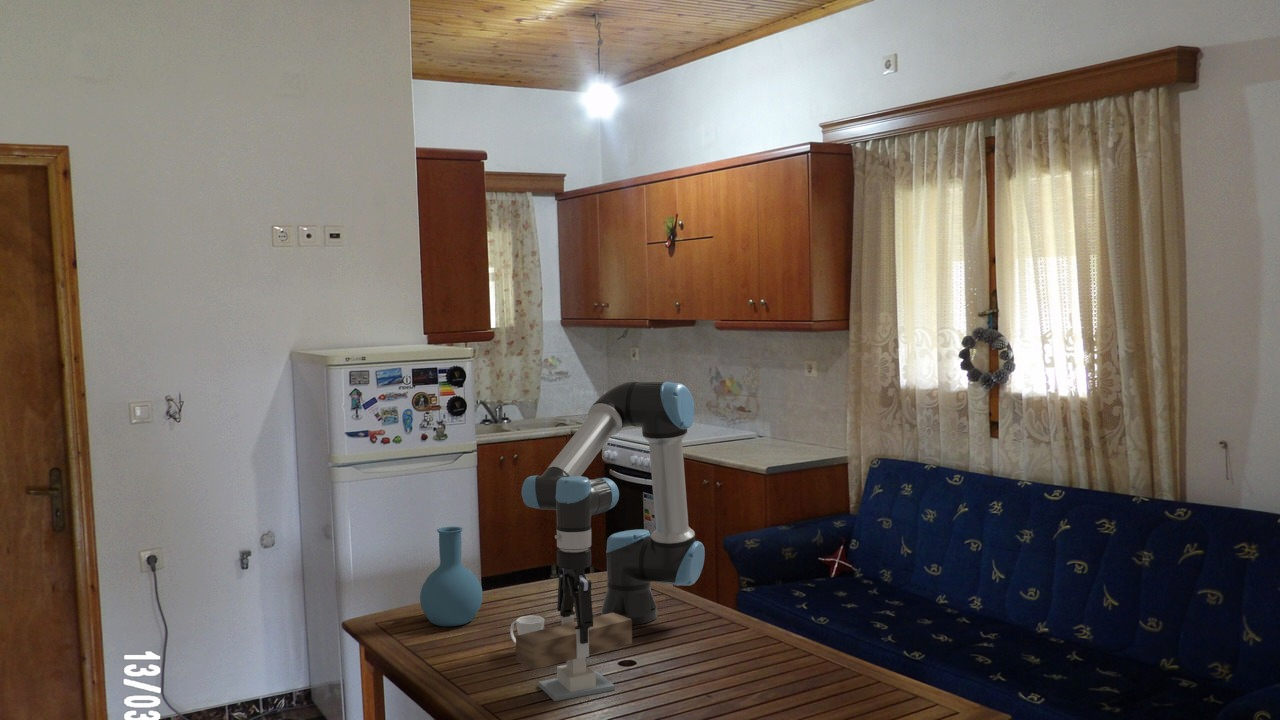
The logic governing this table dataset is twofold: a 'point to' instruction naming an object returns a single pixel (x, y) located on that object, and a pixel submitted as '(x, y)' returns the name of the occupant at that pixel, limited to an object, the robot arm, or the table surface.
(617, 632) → the beam
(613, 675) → the table surface
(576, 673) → the fulcrum
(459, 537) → the vase
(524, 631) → the cup
